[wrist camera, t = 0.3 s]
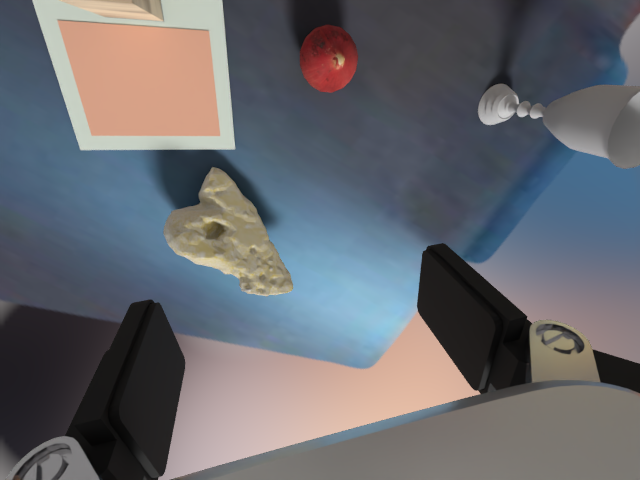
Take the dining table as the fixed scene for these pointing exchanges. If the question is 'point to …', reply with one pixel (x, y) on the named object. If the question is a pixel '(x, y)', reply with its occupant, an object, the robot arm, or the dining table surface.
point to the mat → (143, 76)
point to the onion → (328, 58)
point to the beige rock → (228, 237)
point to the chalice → (579, 119)
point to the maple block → (122, 8)
